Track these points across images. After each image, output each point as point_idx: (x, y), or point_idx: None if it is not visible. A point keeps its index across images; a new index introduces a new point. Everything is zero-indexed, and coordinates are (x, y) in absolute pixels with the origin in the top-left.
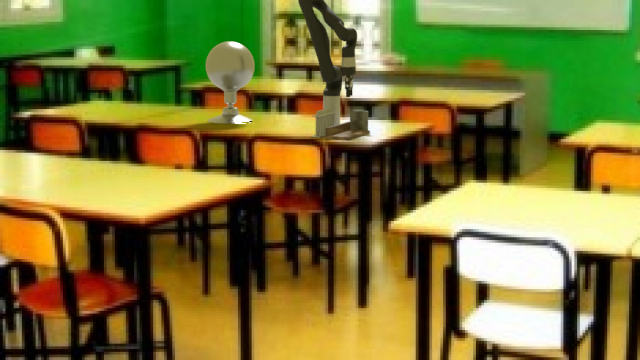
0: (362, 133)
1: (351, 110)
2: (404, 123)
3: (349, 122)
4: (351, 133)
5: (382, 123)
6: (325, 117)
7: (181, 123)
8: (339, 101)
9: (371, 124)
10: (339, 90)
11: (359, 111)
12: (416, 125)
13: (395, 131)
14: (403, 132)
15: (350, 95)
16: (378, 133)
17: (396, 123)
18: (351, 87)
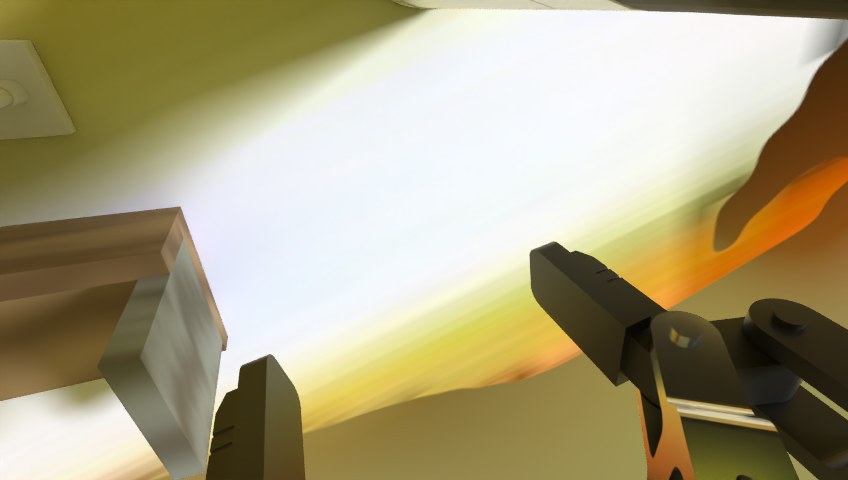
0: (56, 384)
1: (119, 371)
2: (671, 254)
3: (122, 280)
4: None
5: (674, 176)
6: None
7: None
8: (563, 9)
9: (634, 146)
10: (785, 6)
11: (145, 432)
12: None
13: (388, 369)
14: (369, 404)
15: (534, 275)
16: None
17: (672, 229)
18: (647, 399)
